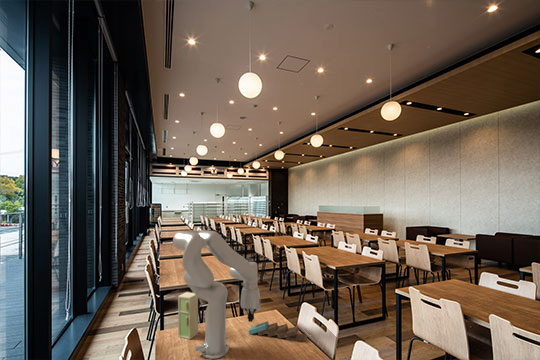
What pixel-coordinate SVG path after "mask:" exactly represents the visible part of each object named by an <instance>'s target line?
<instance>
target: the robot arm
mask: <svg viewBox="0 0 540 360" xmlns="http://www.w3.org/2000/svg"><path fill="white" fill-rule="evenodd" d="M172 244H173V246H174V247H175V248H176V249H177V250H181V251H183V255H182V261H181V263H182V267H183V270H184V272H183V279H184V282H185V284H186V285H187V286H188V288H190V290H191V291H192V293H195V295H196V296H197V297H198V299H200V300H203V301H206V302H207V306H206V308H205V312H204V313H205V314H204V319H205V321H204V323H205V325H204V337H205V338H204V341H203V343H201V345H197V346H194V352H198V353H200V354H201V355H202V356H203V357H204V358H207V359H211V360H214V359H215V360H216V359H219V358H222V357H224V356H226V355H227V354H229V351H230V346H229V344H227V343H226V342H227V341H226V340H227V339H226V329H227V328H226V327H227V325H226V322H227V321H226V320H227V319H226V315H227V313H226V311H227V299H228V295H229V294H228V293H229V290H228V288H227V286H226V285H225V284H223V283H222V282H219V281H215V276H214V273H213V272H212V270H211V269H210V268H209V266H208V265H207V264H206V262H205V261H204V259H203V257H202V250H203V248H204V249H207V250H208V251H209V252H210V253H211V255H213V256H214V257H215V259H216V260H217V261H218V262H220V263H221V264H222V265H225V266H227V267H230V268H229V273H228V274H229V275H230V276H231V278H233V279H235V280H240V281H243V282H241V286H243V287H242V289H241V292H240V293H241V294H240V308H241V309H242V310H244V311H246V314H247V320H248V321H247V322H250V323H252V322H253V320H254V319H255V312H258V311H260V310H261V294H260V288H259V286H258V281H259V279H258V273H259V271H258V270H259V269H258V263H257V262H256V261H248V260H247V259H246V257H243V256H242V255H241V254H240V253H238V252H237V251H236V250H234V249H233V248H232V247H231V246H230V245H229V244H228V242H226V240H225V239H224V238H223V237H222V235H220V233H218V232H217V231H215V230H209V229H208V230H207V229H206V230H205V229H203V230H202V229H199V230H198V229H197V230H181V231H178V232H177V233H175V235H173V239H172Z"/></svg>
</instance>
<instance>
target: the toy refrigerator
mask: <svg viewBox="0 0 540 360" xmlns="http://www.w3.org/2000/svg"><path fill="white" fill-rule="evenodd" d="M177 300H178V301H177V309H178V310H177V311H178V312H177V314H178V315H177V317H178V319H177V320H178V321H177V323H178V325H177V326H178V327H177V328H178V329H177V332H178V333H177V335H178V336H177V337H178V338H182V339H186V340H192V339H193V338H194V337H196V336H197V335H198V334H199V309H198V308H199V297H197V296H196V295H195V293H194V292H188V291H186V292H184V293H182V294H180V295H178V297H177Z"/></svg>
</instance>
